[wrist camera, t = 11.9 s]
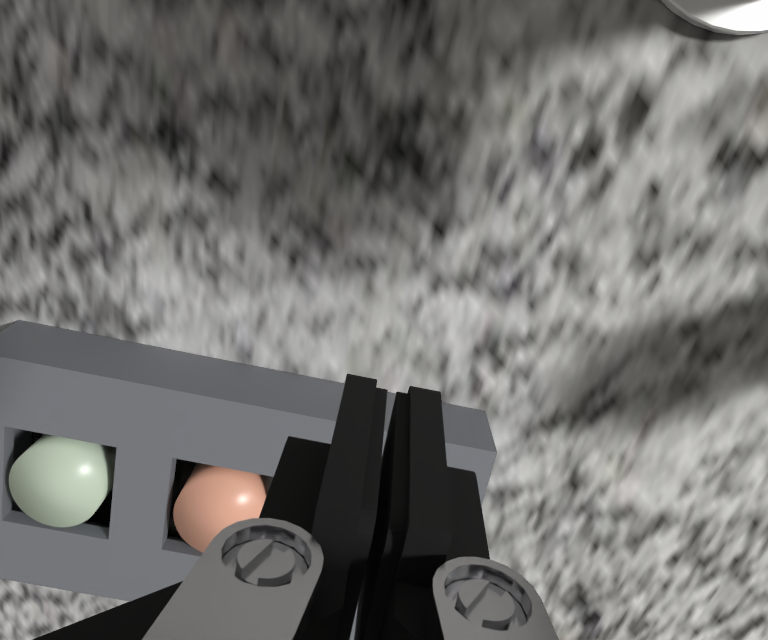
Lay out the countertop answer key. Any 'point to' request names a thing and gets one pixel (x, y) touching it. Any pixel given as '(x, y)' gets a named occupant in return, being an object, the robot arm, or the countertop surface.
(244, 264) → the countertop surface
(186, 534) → the terracotta button
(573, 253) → the countertop surface
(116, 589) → the button box
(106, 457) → the sage button
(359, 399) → the robot arm
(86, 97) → the countertop surface
